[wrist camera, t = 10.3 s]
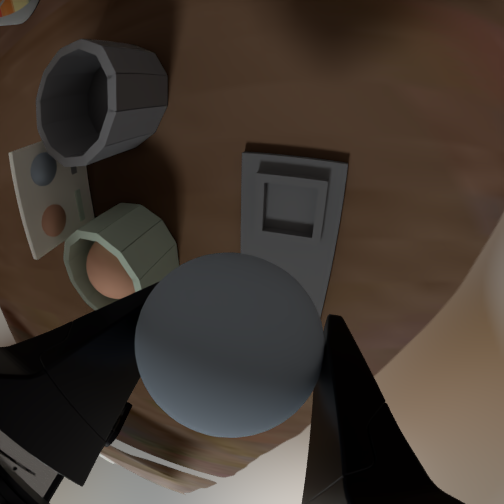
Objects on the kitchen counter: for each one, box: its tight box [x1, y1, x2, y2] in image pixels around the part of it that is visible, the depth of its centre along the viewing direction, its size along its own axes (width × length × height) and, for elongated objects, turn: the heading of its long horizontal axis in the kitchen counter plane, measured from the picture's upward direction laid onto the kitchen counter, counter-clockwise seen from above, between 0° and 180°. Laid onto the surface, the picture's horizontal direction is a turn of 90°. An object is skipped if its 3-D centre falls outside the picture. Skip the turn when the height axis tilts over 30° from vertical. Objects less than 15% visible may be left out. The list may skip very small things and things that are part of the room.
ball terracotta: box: [86, 241, 135, 299], centre depth 19 cm, size 5×5×5 cm
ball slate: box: [135, 253, 324, 438], centre depth 7 cm, size 5×5×5 cm
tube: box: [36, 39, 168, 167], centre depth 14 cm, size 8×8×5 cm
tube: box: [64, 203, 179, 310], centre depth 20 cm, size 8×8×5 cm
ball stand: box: [241, 152, 348, 317], centre depth 19 cm, size 16×6×1 cm, turn 179°
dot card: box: [9, 141, 95, 260], centre depth 17 cm, size 8×1×7 cm, turn 179°
